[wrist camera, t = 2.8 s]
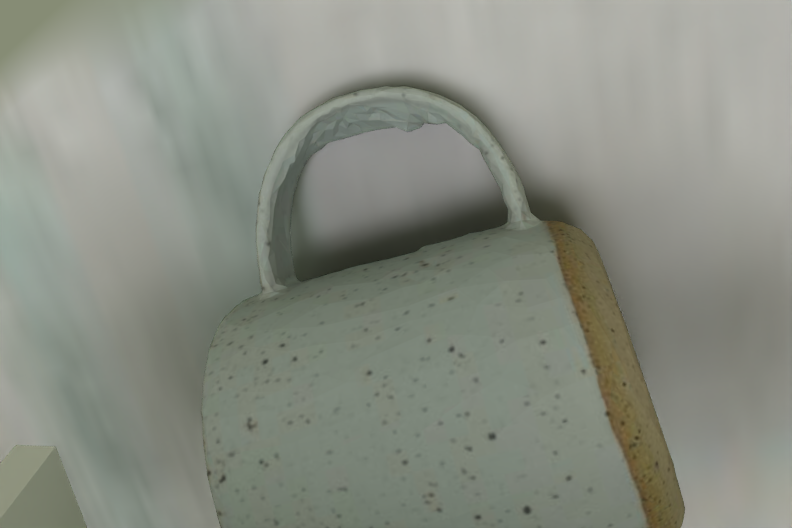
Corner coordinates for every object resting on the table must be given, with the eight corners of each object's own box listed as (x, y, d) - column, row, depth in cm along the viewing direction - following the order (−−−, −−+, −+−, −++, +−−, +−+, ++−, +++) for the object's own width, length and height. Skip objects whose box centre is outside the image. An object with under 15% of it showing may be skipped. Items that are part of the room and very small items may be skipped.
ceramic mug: (649, 395, 19) (743, 669, 12) (375, 465, 21) (322, 730, 14) (519, 11, 15) (548, 96, 8) (198, 147, 17) (10, 304, 10)
